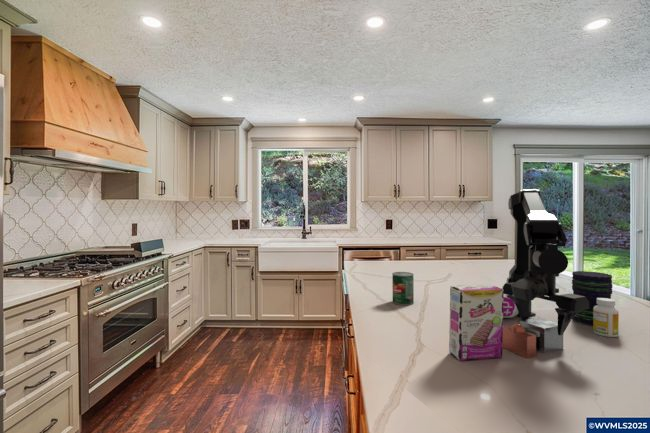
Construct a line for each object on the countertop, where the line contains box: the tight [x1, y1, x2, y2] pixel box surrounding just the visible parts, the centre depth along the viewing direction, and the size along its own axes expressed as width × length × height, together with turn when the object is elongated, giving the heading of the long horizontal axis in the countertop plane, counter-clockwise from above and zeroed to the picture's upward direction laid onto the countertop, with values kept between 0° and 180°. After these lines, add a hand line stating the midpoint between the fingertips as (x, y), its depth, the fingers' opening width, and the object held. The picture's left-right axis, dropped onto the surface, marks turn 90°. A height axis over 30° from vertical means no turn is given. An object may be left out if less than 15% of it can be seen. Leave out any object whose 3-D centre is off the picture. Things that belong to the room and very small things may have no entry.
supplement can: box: [503, 294, 519, 319], centre depth 108 cm, size 8×8×15 cm
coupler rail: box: [502, 322, 540, 359], centre depth 83 cm, size 13×7×7 cm, turn 112°
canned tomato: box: [391, 271, 415, 306], centre depth 126 cm, size 8×8×11 cm
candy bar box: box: [448, 284, 504, 362], centre depth 78 cm, size 11×5×16 cm, turn 100°
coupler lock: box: [519, 317, 564, 354], centre depth 84 cm, size 7×6×6 cm
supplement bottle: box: [592, 298, 620, 338], centre depth 93 cm, size 5×5×10 cm
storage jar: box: [571, 270, 613, 327], centre depth 103 cm, size 10×10×15 cm
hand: (541, 328), depth 84 cm, fingers open, 9 cm apart
